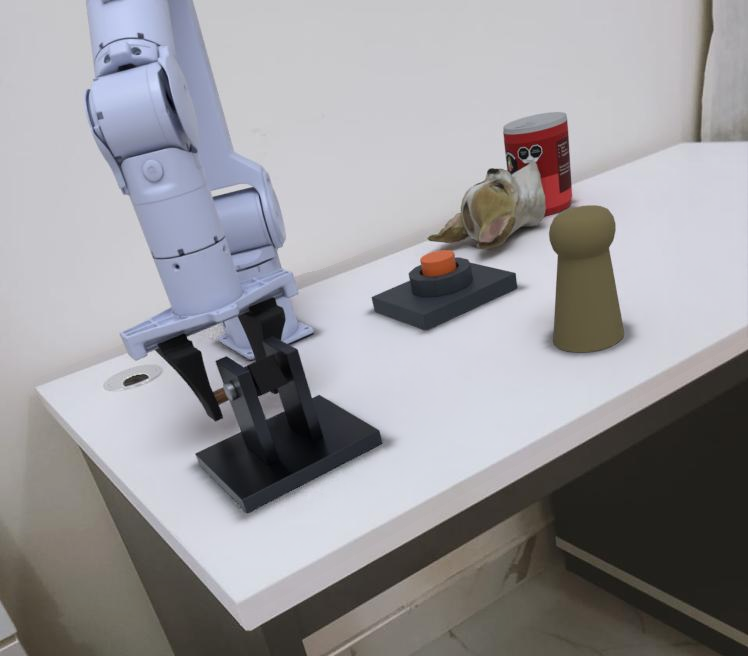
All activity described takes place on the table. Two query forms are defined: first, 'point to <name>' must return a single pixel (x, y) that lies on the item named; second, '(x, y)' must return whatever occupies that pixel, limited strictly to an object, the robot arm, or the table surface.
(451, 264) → the button
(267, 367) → the lever
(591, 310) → the olive pawn
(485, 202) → the ceramic sculpture
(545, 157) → the canned food
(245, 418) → the bracket
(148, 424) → the table surface
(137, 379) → the table surface
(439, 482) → the table surface
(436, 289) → the button box
